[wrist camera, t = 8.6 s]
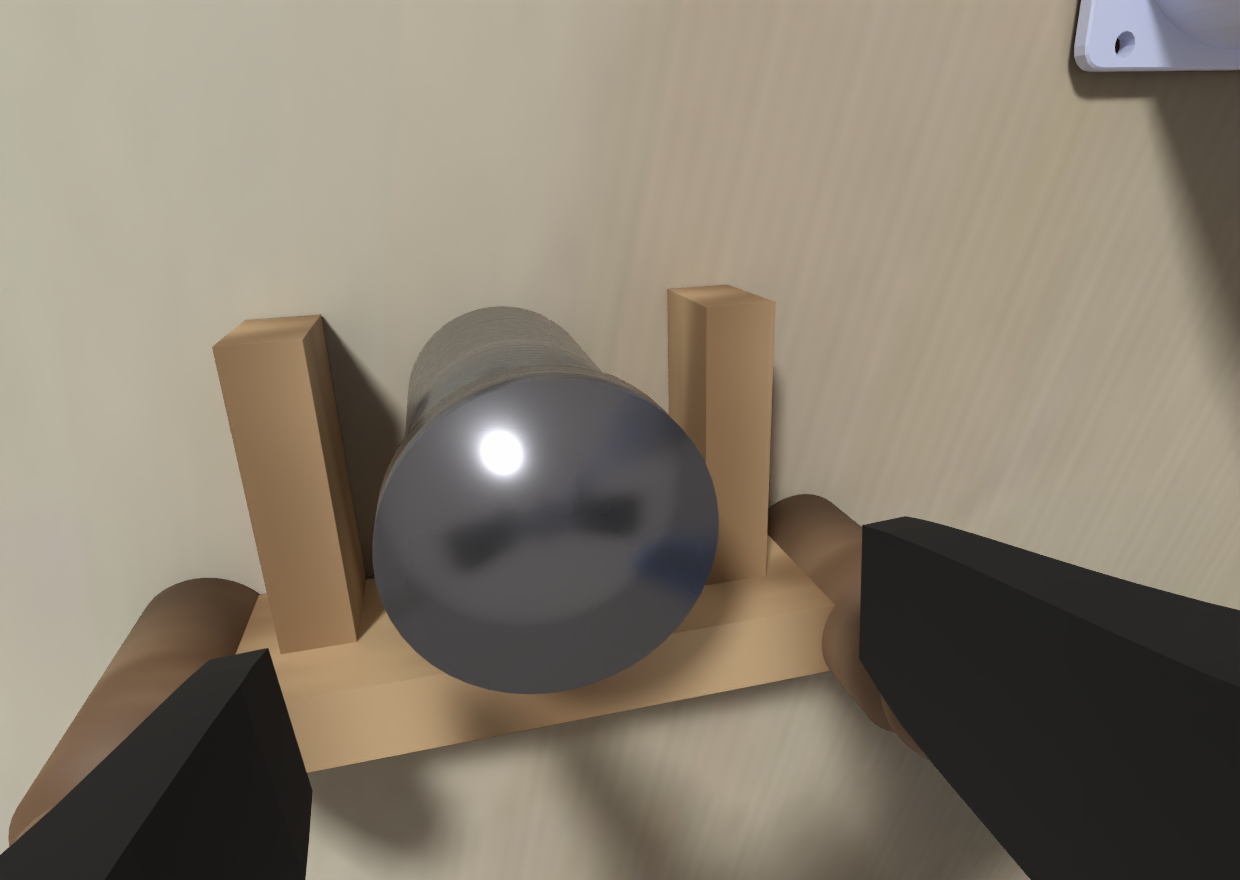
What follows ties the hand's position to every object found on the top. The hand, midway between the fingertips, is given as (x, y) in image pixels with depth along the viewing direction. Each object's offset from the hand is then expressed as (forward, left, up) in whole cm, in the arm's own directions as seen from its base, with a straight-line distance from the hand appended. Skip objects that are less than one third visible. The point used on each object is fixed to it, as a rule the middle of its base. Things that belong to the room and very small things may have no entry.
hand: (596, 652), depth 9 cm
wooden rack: (0, +1, -8) cm, 8 cm away
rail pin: (0, -1, -8) cm, 8 cm away
